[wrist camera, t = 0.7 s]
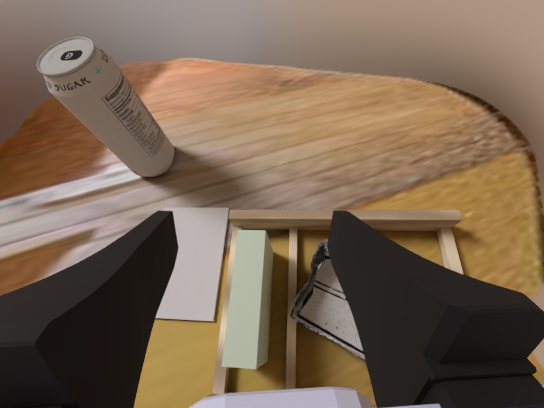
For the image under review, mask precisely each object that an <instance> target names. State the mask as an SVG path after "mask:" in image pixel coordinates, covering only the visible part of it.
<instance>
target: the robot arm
mask: <svg viewBox="0 0 544 408" xmlns="http://www.w3.org/2000/svg"><path fill="white" fill-rule="evenodd" d="M327 248H328V252H329V256H330V260H331V264H332V266H333V269H334V271H335V274H336V276H337V279H338V281H339V283H340V286H341V288H342V290H343V293H344V295H345V297H346V300H347V302H348V304H349V307H350V310H351V312H352V315H353V318H354V321H355V325H356V328H357V331H358V335H359V338H360V342H361V345H362V349H363V352H364V356H365V360H366V364H367V368H368V372H369V376H370V380H371V384H372V388H373V392H374V397H375V401H376V406H377V408H544V384H543V385H541V384H540V383H539V382H538V381H537V379H536V378H535V377H534V376H533V375H532V374H535V373H536V367H535V366H534V365H533V364H532V363H531V362H530V361H529V360H528V359H527V357H528V356H529V355H530V354H531V352H532V351H533V350H534V349H535V348H536V347H537V346H538V344H539V343H540V342H541V341H542V340H543V338H544V311H543V310H541V309H540V308H539V307H538V306H537V305H536V304H535V303H534V302H532V301H531V300H530V299H529V298H528V297H527V296H526V295H524V294H523V293H521V292H517V291H514V290H510V289H507V288H503V287H500V286H497V285H493V284H490V283H486V282H483V281H480V280H477V279H475V278H472V277H469V276H466V275H463V274H460V273H458V272H455V271H453V270H450V269H448V268H445V267H443V266H441V265H438V264H436V263H434V262H431V261H429V260H427V259H425V258H423V257H421V256H419V255H417V254H415V253H413V252H411V251H409V250H407V249H405V248H404V247H402V246H400V245H398V244H397V243H395V242H393V241H392V240H390V239H389V238H387V237H385V236H384V235H382V234H381V233H379V232H378V231H376V230H375V229H373V228H372V227H370V226H369V225H368V224H366V223H365V222H363V221H362V220H360V219H359V218H357V217H356V216H355V215H353V214H352V213H350V212H348V211H346V210H333V215H332V221H331V226H330V232H329V237H328V242H327ZM177 253H178V241H177V235H176V229H175V223H174V217H173V211H157V212H156V213H154V214H153V215H151V216H150V217H148V218H147V219H146V220H144V221H143V222H142V223H140V224H139V225H137V226H136V227H135V228H133V229H132V230H130V231H129V232H128V233H126V234H125V235H123V236H122V237H120V238H119V239H117V240H116V241H114V242H113V243H111V244H110V245H108V246H107V247H105V248H103V249H102V250H100V251H98V252H97V253H95V254H93V255H92V256H90V257H88V258H86V259H84V260H82V261H80V262H79V263H77V264H75V265H73V266H70V267H68V268H66V269H64V270H62V271H60V272H58V273H55V274H53V275H51V276H49V277H47V278H45V279H42V280H40V281H37V282H35V283H33V284H30V285H28V286H25V287H23V288H20V289H17V290H15V291H12V292H9V293H7V294H4V295H1V296H0V408H133V407H134V402H135V398H136V393H137V389H138V384H139V380H140V375H141V371H142V367H143V363H144V358H145V354H146V350H147V346H148V342H149V339H150V335H151V331H152V327H153V324H154V320H155V317H156V314H157V312H158V309H159V306H160V304H161V301H162V299H163V296H164V293H165V291H166V288H167V286H168V283H169V280H170V278H171V275H172V272H173V270H174V266H175V262H176V258H177ZM189 408H372V406H371V403H370V400H369V399H368V398H367V397H365V396H363V395H362V394H360V393H358V392H357V391H355V390H353V389H352V388H342V387H317V388H302V389H287V390H271V391H256V392H240V393H226V394H221V395H216V396H211V397H206V398H203V399H201V400H200V401H198V402H197V403H195V404H193V405H192V406H190V407H189Z"/></svg>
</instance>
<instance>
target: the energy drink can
mask: <svg viewBox="0 0 544 408" xmlns="http://www.w3.org/2000/svg"><path fill="white" fill-rule="evenodd" d="M37 68H38V70H39V71H40V72H41V73H42V74H43V75H44V78H45V81H46V84H47V87H48V89H49V92H50V93H52V94H53V95H54V96H55V97H56V98H57V99H58V100H59V101H60V102H61V103H62V104H63V105H64V106H65V107H66V108H67V109H68V110H69V111H70V112H71V113H72V114H73V115H74V116H75V117H76V118H77V119H78V120H80V121H81V122H82V123H83V124H84V125H85V126H86V127H87V128H88V129H89V130H90V131H91V132H92V133H93V134H94V135H95V136H96V137H97V138H98V139H99V140H100V141H101V142H102V143H103V144H105V145H106V146H107V147H108V148H109V149H110V150H111V151H112V152H113V153H114V154H115V155H116V156H117V157H118V158H119V159H120V160H121V161H122V162H123V163H124V164H125V165H126V166H127V167H128V168H129V169H131V170H132V171H133V172H134V173H135V174H137V175H139V176H145V177H146V176H147V177H155V176H158V175H161V174H162V173H164V172H165V171H167V170H168V169H169V168H170V166H171V165H172V162H173V158H174V147H173V145H172V144H171V142H170V141H169V140H168V138H167V137H166V135H165V134H164V132H163V131H162V129H161V128H160V126H159V125H158V124H157V122H156V121H155V119H154V118H153V116H152V115H151V113H150V112H149V111H148V109H147V108H146V106H145V105H144V103H143V102H142V100H141V99H140V97H139V96H138V95H137V93H136V92H135V90H134V89H133V87H132V86H131V84H130V83H129V81H128V80H127V79H126V77H125V76H124V74H123V73H122V71H121V70H120V68H119V67H118V66H117V64H116V63H115V61H114V60H113V58H112V57H111V56H110V55H109V54H107V53H106V52H104V51H103V50H101V49H99V48H97V47H96V46H95V45H94V44H93V42H92V41H91V40H89V39H88V38H85V37H72V38H68V39H65V40H62V41H60V42H58V43H56V44H54V45H52V46H51V47H49V48H48V49H47V50H46V51H44V52H43V53H42V55H41V56H40V57H39V59H38V61H37Z"/></svg>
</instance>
